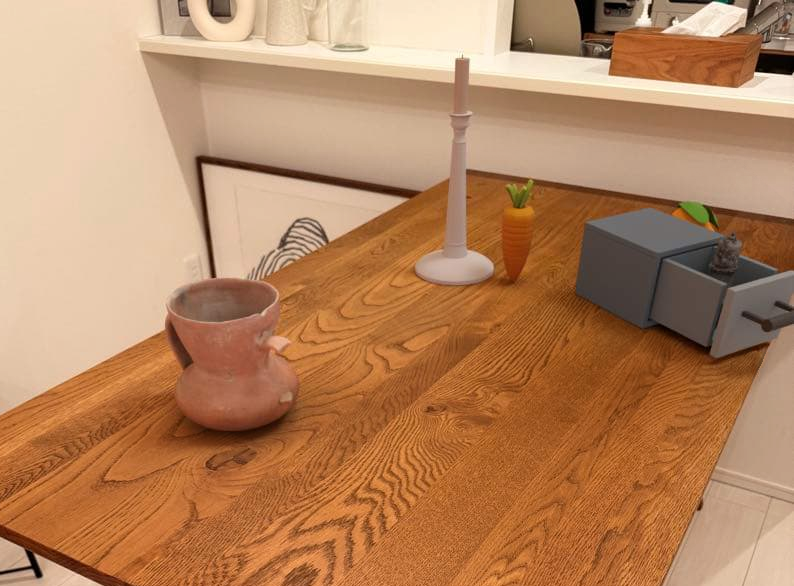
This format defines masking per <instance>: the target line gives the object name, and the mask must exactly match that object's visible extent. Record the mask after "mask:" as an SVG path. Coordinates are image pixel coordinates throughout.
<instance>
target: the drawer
mask: <svg viewBox="0 0 794 586" xmlns="http://www.w3.org/2000/svg"><path fill="white" fill-rule="evenodd" d="M717 247H718V246H717V245H714V244H713V245H709V246H705V247H701V248H697V249H693V250H689V251H685V252H681V253H677V254H673V255H669V256H666V257H662V258H661V260H660V264H659V269H658V274H657V278H656V283H655V288H654V292H653V297H652V302H651V306H650V311H649V316H648V318H650V319H652V320H654V321H656V322H658V323H660V324H659V325H662V326H664V327H666V328H668V329H670V330H672V331H674V332H676V333H678V334H679V335H682V336H684V337H686V338H688V339H690V340H691V341H693V342H695V343H697V344H700V345H702V346H704V347H706V348H707V347H710V346H711V347H710V351H709V356H711V357H714V358H716V359H718V358H721V357H725V356H727V355H730V354H734V353H736V352H740V351H743V350H745V349H749V348H751V347H754V346H757V345H760V344H764V343H767V342H770V341H773V340H776V339H778V338H779V334H780V332H781V329H783V328H786V327H789V326H793V325H794V306H793V305H791V304H790V302H791V299H792V297H793V293H794V270H792V269H791V270H788V271H784V272H781V273H778V272H779V268H776V267H773V266H771V265H769V264H766V263H764V262H761V261H759V260H755V259H753V258H750V257H748V256H745V255H742V254H741V253H740V254H739V258H738V261H737V266H738V267H739V269H738V270H737V271H735V274H734V278H733V282H732V287H731V288H728V290H727V293H726V297H725V300H724V304H723V308H722V311H721V315H720V318H719V322H718V326H717V329H715V327H716V323H717V320H718V316H719V312H720V309H721V305H722V302H723V298H724V294H725V291H726V287H727V284H726V283H724V282H722V281H719V280H717V279H715V278H712V277H710V276H709V275H710V271H711V268H710V264H711V263H712V262H714V258H715V255H716V251H717Z"/></svg>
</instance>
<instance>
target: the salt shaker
mask: <svg viewBox="0 0 794 586" xmlns="http://www.w3.org/2000/svg"><path fill="white" fill-rule="evenodd" d="M729 234H730V235H728V236H726V237H725V238H723V239H722V240H720V241H719V243H718V247H717V251H716V255H715V258H714V262H712V263H711V264H710V268H711V271H710V275H709V276H710V277H712V278H715V279H717V280H719V281H722V282H724V283H726V284H727V287H726V291H725V294H724V298H723V302H722V305H721V309H720V312H719V316H718V320H717V323H716V327H715V329H717V326H718V322H719V318H720V315H721V311H722V308H723V304H724V300H725V297H726V293H727V290H728V288H731V287H732V282H733V278H734V274H735V271H737V270H738V269H739V267H738V266H737V261H738V258H739V254H740V255H741V251H742V246H743V245H742V244H743V243H742V241H741V240H740V239H739V238H738V237H736V235H737V233H736V231H735V230H734V229H733V230H732V231H731V232H730V233H729Z"/></svg>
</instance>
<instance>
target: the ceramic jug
mask: <svg viewBox="0 0 794 586" xmlns="http://www.w3.org/2000/svg"><path fill="white" fill-rule="evenodd" d="M165 306H166V311H167V315H166V317H165V321H164V333H165V337H166V341H167V343H168V346H169V348H170V350H171V352H172V354H173V355H174V357H175V359H176V361H177V362H178V364H179V366H180V368H181V369H182V372H181V374H180V375H179V376H178V378H177V380H176V383H175V385H174V390H173V391H174V392H173V397H174V401H175V403H176V405H177V407H178V409H179V411H180V412H181V413H182V415H184V417H185V418H187V419H188V420H190V421H191V422H193V423H194V424H195V425H198V426H201V427H204V428H205V429H210V430H214V431H222V432H243V431H249V430H253V429H259V428H262V427H264V426H266V425H269V424H271V423H274V422H275V421H277V420H279V419H280V418H282V417H283V416H284V415H286V414H287V413H288V412H289V411H290V410H291V409H292V408H293V407H294V405H295V403H296V401H297V399H298V396H299V393H300V379H299V376H298V373H297V370H295V368H294V367H293V366H292V365H291V364H290V363H289V362H287V360H285V359H283V358H282V357H280V356H278V355H283V354H284V352H285V351H286V349H287V348H288V347H290V346H291V345H292V342H291V341H290V340H289V339H288V338H287V337H284V336H281V335H275V330H276V328H277V326H278V323H279V320H280V319H279V318H280V311H281V297H280V292H279V291H278V289H277V288H276V287H275V286H274V285H272V284H271V283H268V282H266V281H264V280H263V281H262V280H258V279H251V278H240V277H214V278H212V277H211V278H203V279H200V280H195V281H194V282H188V283H186V284H182V285H181V286H179V287H177V288H176V289H175V290H174V291H173V292H171V293H170V294H169V295H168V297H167V298H166V305H165ZM271 350H273V351H274V352H276V354H274V353H271Z"/></svg>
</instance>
